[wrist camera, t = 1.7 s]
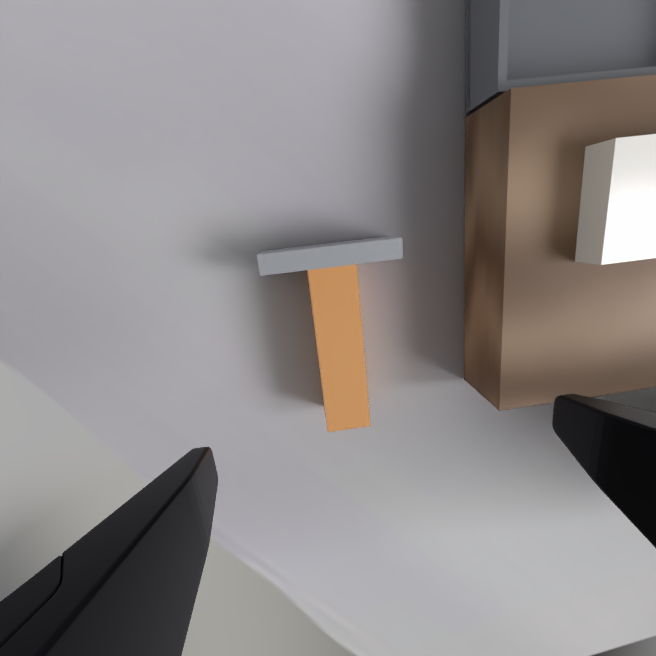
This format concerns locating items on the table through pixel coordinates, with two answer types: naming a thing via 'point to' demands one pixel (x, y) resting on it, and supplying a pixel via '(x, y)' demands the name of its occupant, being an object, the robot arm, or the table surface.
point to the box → (554, 43)
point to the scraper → (336, 317)
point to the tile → (618, 201)
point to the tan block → (550, 249)
